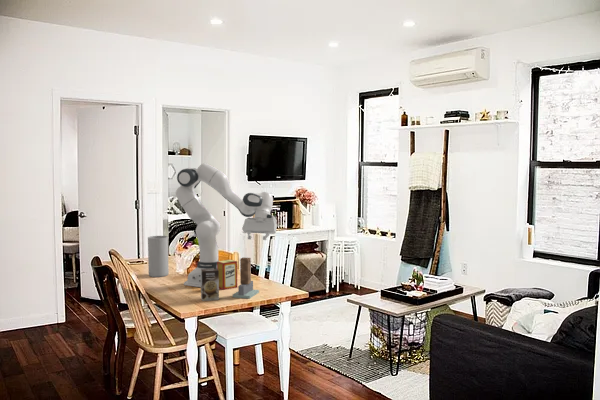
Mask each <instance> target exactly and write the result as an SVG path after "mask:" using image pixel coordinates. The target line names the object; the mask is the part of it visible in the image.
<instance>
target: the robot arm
mask: <svg viewBox="0 0 600 400" xmlns="http://www.w3.org/2000/svg"><path fill="white" fill-rule="evenodd" d="M176 179H177V182H178V184H179V185H180V186H178V187H177V188H176V190H175V196H176V199H177V201H178V202H179V204H180V206H181V207H182V209H183V210H184V212H185V213H186V214H187V216H188V217H189V218H190V220H192V221H193V222H194V223H195V224H196V228H195V234H196V236H197V237H196V238H197V242H198V248H199V260H198V261H197V262H196V263H195V266H196V265H197V266H196V267H195V268H194V269H193V270H192V271H190V272H189V273H188V275H187V280H186V281H184V282H183V286H188V287H197V288H201V269H217V261H220V260H219V247H218V243H217V237H216V236H217V235H218V234H219V233H220V231H221V228H222V225H221V223H220V221H219V220H217V219H216V217H214V215H213V214H212V213H211V212H210V211H209V209H207V208H206V206H205V205H204V203H203V202H202V201H201V199H200V197H199V196H198V195H197V193H196V191H195V189H196V188H197V187H198V185H199V184H200V183H201V182H203V183H205V184H206V185H208V186H210V187H211V188H212V189H213V190H215V191H216V192H217V193H218V194H219V195H221V196H222V197H223V198H224V199H225V200H226V201H228V202H229V203H230V204H232V205H233V206H234V207H235V208H236V209H238V210H237V211H239V214H241V216H243V217H245V219H244V222H243V225H242V229H241V230H242V231H243V233H246V234H247V239H248V240H252V236H251V234H265V235H263V237H262V240H263V241H267V238H268V237H269V236H270V235H275V234H276V232H277V226H278V225H277V222H278V220H277V218H276V217H275V215H272V214H271V211H272V209H273V206H274V205H273V203H274V197H273V195H272V194H271V193H269V192H267V191H262V192H260V193H258V192H257V193H254V192H248V193H245V194H244V196H243V197H241V196H239V194H237V193H236V192H235V191H234V190H233V189H232V187H231V184H230V180H229V177H228V176H227V174H225V173H224V171H222V170H221V169H218V168H217V167H216V166H214V165H211V164H209V163H208V162H204V163H201V164H200V165H199V166H198V167H197V168H194V167H188V168H183V169H181V170H179V172H178V174H177V175H176Z"/></svg>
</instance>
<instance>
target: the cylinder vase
mask: <svg viewBox="0 0 600 400" xmlns="http://www.w3.org/2000/svg"><path fill="white" fill-rule="evenodd" d="M147 255H148V257H147V259H148V260H147V261H148V264H147V265H148V276H149V277H150V278H151V277H152V278H163V277H166V276H168V275H169V272H170V271H169V236H167V235H152V236H148V237H147Z"/></svg>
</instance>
